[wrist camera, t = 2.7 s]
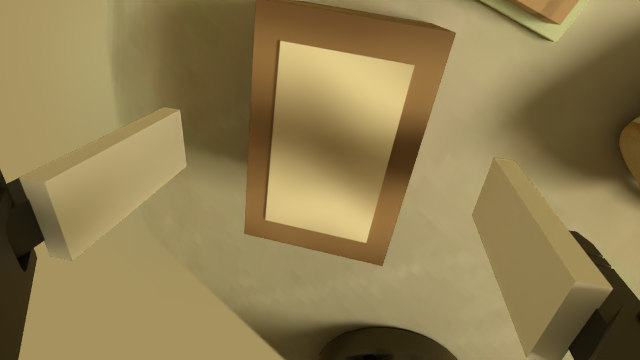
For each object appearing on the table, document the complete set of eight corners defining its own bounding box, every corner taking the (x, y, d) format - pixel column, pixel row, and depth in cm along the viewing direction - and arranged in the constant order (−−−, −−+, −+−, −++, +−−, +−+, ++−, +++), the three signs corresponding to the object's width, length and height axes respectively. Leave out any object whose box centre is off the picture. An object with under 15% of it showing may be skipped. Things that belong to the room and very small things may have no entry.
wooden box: (383, 194, 26) (382, 267, 18) (282, 172, 26) (243, 235, 19) (431, 23, 20) (456, 33, 13) (300, 0, 21) (254, -2, 13)
